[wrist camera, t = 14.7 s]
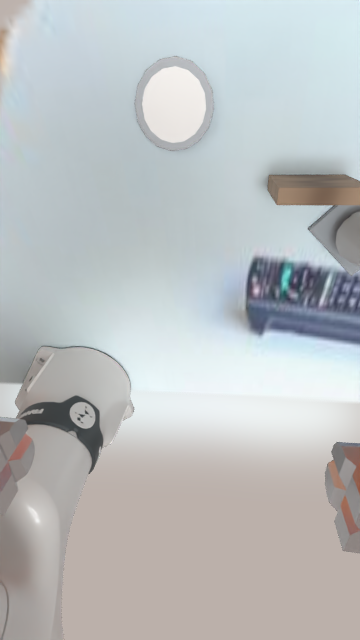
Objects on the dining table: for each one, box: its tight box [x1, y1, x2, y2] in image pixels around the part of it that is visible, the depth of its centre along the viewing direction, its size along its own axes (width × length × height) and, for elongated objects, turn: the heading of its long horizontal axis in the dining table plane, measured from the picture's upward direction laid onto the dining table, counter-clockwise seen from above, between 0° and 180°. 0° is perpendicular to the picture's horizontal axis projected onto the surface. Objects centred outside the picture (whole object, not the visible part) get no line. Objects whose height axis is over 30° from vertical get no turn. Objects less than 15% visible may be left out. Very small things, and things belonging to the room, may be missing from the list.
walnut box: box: [268, 175, 360, 205], centre depth 33 cm, size 8×2×8 cm, turn 91°
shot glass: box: [135, 56, 214, 151], centre depth 32 cm, size 7×7×7 cm
